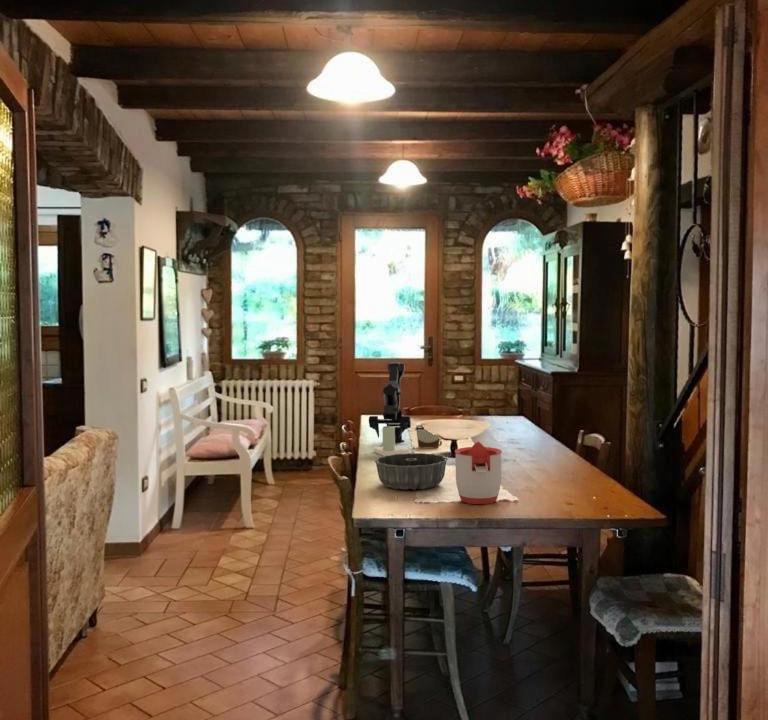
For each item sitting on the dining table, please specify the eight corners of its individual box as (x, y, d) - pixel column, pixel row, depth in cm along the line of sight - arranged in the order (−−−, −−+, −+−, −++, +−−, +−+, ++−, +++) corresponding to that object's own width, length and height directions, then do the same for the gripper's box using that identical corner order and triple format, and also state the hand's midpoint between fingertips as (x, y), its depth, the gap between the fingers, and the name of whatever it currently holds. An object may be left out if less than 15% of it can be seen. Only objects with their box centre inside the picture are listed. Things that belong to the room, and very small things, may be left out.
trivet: (374, 451, 354) (374, 447, 354) (398, 449, 359) (398, 445, 359) (384, 456, 343) (384, 451, 343) (409, 453, 348) (409, 449, 348)
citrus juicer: (458, 508, 251) (457, 447, 250) (453, 495, 269) (452, 438, 267) (506, 507, 251) (506, 446, 250) (498, 495, 269) (498, 437, 267)
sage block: (384, 448, 351) (383, 426, 350) (395, 448, 350) (394, 426, 350) (382, 450, 346) (382, 428, 345) (394, 450, 345) (393, 428, 345)
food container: (442, 445, 368) (441, 424, 368) (441, 447, 362) (441, 426, 362) (416, 445, 370) (415, 424, 369) (415, 447, 363) (414, 426, 363)
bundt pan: (364, 482, 292) (363, 456, 292) (426, 475, 303) (426, 449, 302) (394, 497, 268) (393, 468, 268) (461, 489, 279) (460, 461, 278)
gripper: (368, 398, 352) (365, 426, 342) (410, 398, 350) (408, 426, 340) (371, 413, 361) (368, 441, 350) (411, 413, 359) (410, 441, 348)
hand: (388, 437), depth 347 cm, fingers open, 9 cm apart
